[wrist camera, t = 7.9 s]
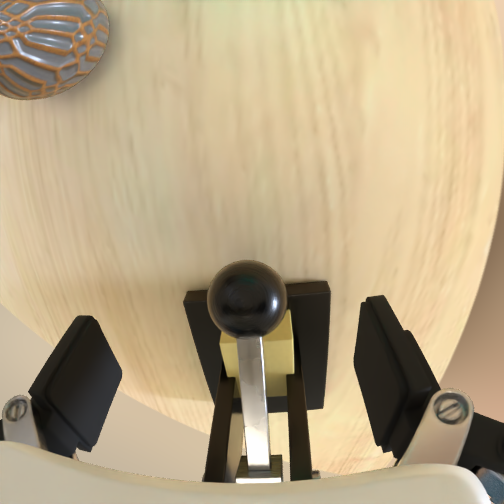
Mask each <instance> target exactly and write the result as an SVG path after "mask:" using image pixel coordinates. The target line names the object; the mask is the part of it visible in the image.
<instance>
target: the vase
mask: <svg viewBox="0 0 504 504" xmlns="http://www.w3.org/2000/svg"><path fill="white" fill-rule="evenodd" d="M108 36H109V20H108V15H107V12H106V9H105V7H104V5H103V3H102V2H101V0H0V95H3V96H5V97H9V98H12V99H18V100H35V99H42V98H47V97H51V96H54V95H57V94H59V93H62V92H64V91H66V90H68V89H70V88H71V87H73V86H75V85H76V84H77V83H79V82H80V81H81V80H83V79H84V78H85V77H86V76H87V75H88V74H89V73H90V72H91V71H92V70H93V68H94V67H95V66H96V64H97V63H98V61H99V60H100V58H101V56H102V54H103V52H104V50H105V47H106V44H107V41H108Z"/></svg>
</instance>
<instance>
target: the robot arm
mask: <svg viewBox="0 0 504 504" xmlns="http://www.w3.org/2000/svg"><path fill="white" fill-rule="evenodd" d="M354 368H355V372H356V375H357V378H358V382H359V385H360V389H361V392H362V396H363V399H364V403H365V406H366V410H367V413H368V417H369V421H370V424H371V428H372V432H373V436H374V440H375V443H376V445H377V446H381V447H382V450H383V453H386V452H390V451H392V452H393V456H394V458H396V461H395V463H394V465H393V467H389V468H384V469H379V470H373V471H367V472H361V473H355V474H349V475H343V476H336V477H329V478H322V479H311V480H301V481H290V482H274V483H212V482H196V481H184V480H175V479H166V478H159V477H152V476H145V475H139V474H134V473H128V472H123V471H118V470H114V469H109V468H104V467H101V466H96V465H93V464H89V463H85V462H81V461H79V460H78V457H77V454H76V452H75V450H76V448H78V449H80V450H83V451H87V452H91V450H92V447H93V446H94V445H95V444H96V443H97V441H98V438H99V435H100V432H101V430H102V427H103V424H104V422H105V419H106V416H107V414H108V411H109V408H110V406H111V403H112V401H113V398H114V396H115V393H116V391H117V388H118V386H119V383H120V381H121V378H122V369H121V367H120V365H119V363H118V362H117V360H116V358H115V356H114V354H113V352H112V350H111V348H110V346H109V344H108V342H107V340H106V338H105V336H104V334H103V332H102V330H101V327H100V325H99V323H98V321H97V320H95V319H94V318H93V317H92V316H84V315H79V316H77V317H76V318H75V319H74V321H73V322H72V324H71V325H70V327H69V328H68V330H67V331H66V332H65V334H64V335H63V337H62V338H61V340H60V341H59V343H58V344H57V346H56V347H55V349H54V351H53V352H52V354H51V355H50V357H49V358H48V360H47V361H46V363H45V365H44V366H43V368H42V369H41V371H40V373H39V374H38V376H37V378H36V379H35V381H34V383H33V384H32V386H31V388H30V389H29V391H28V392H29V394H30V395H31V396H32V398H31V400H30V399H29V398H28V397H27V396H24V395H17V396H14V397H13V398H11V399H10V400H9V401H8V402H7V403H6V404H5V406H4V408H3V411H2V419H1V420H0V504H491V502H493V503H494V504H504V423H502V422H499V421H496V420H494V419H491V418H488V417H485V416H483V415H480V414H478V413H475V412H474V406H473V402H472V400H471V399H470V397H469V396H468V395H467V394H466V393H465V392H463V391H460V390H459V389H454V388H447V389H443V390H441V389H440V387H439V384H438V382H437V380H436V378H435V376H434V374H433V372H432V370H431V368H430V366H429V365H428V363H427V361H426V359H425V357H424V355H423V353H422V351H421V349H420V347H419V346H418V344H417V342H416V340H415V338H414V336H413V335H412V333H411V332H410V331H409V330H403V328H402V326H401V325H400V323H399V321H398V319H397V317H396V315H395V314H394V312H393V310H392V308H391V306H390V305H389V303H388V301H387V299H386V298H385V296H384V295H380V296H372V297H367V298H366V302H362V303H361V307H360V315H359V324H358V332H357V339H356V346H355V353H354ZM487 494H488V495H489V496H490V497H491V498H490V499H489V497H488V495H487Z"/></svg>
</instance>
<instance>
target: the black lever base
mask: <svg viewBox="0 0 504 504" xmlns="http://www.w3.org/2000/svg"><path fill="white" fill-rule="evenodd" d="M285 287H286V290H287V296H288V304H287V310H290V314H291V323H292V333H293V349H294V374H286V385H287V396H273V397H267V404H268V413H277V412H288V426H289V451H290V479H291V480H290V481H301V480H311V479H321V478H320V472H319V470H315V471H312V464H311V452H310V440H309V429H308V419H307V410H314V409H323V406H324V396H325V385H326V373H327V360H328V345H329V326H330V301H331V291H330V288H329V285H328V282H327V281H321V282H310V283H298V284H286V285H285ZM207 294H208V290H200V291H188V292H187V294H186V296H185V299H184V301H183V304H184V307H185V311H186V314H187V318H188V322H189V325H190V329H191V332H192V336H193V339H194V342H195V346H196V349H197V352H198V356H199V359H200V362H201V365H202V368H203V372H204V375H205V378H206V381H207V384H208V387H209V390H210V393H211V396H212V399H213V402H214V405H215V409H214V415H213V421H212V428H211V434H210V441H209V448H208V454H207V461H206V467H205V473H204V475H203V478H202V482H212V483H235V476H236V473H237V469H238V465H239V462H240V458H241V456H242V444H243V430H244V424H243V413H242V401H241V398H240V394H239V390H238V386H237V381H236V378H235V377H228V376H227V373H226V369H225V365H224V360H223V356H222V352H221V348H220V344H219V343H220V338H221V332H222V331H221V330H220V329H219V328H218V327H217V326H216V325H215V323H214V322H213V320H212V318H211V316H210V314H209V311H208V306H207Z"/></svg>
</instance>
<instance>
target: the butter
mask: <svg viewBox="0 0 504 504" xmlns="http://www.w3.org/2000/svg"><path fill="white" fill-rule="evenodd" d="M219 344H220V348H221V352H222V356H223V360H224V365H225V369H226V373H227V376H228V377H235V378H236V381H237V386H238V390H239V394H240V398H241V390H240V378H239V366H238V353H237V340H236V338H233V337H231V336H229V335H227V334H225V333H224V332H221V338H220V343H219ZM263 346H264V360H265V375H266V390H267V397H273V396H287V385H286V374H294V349H293V333H292V323H291V314H290V310H286V313H285V316H284V318H283V320H282V321H281V323H280V324H279V325H278V327H277V328H276V329H275V330H274V331H272V332H271V333H270V334H268V335H266V336H264V337H263Z"/></svg>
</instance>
